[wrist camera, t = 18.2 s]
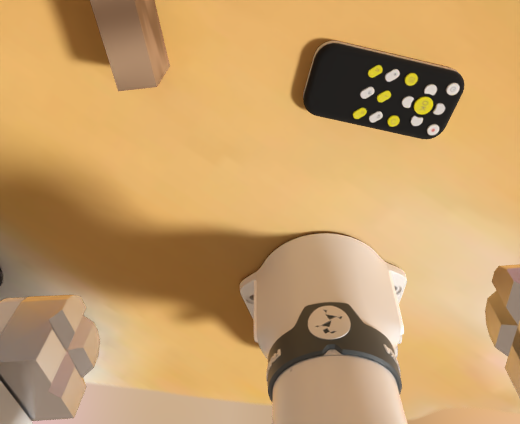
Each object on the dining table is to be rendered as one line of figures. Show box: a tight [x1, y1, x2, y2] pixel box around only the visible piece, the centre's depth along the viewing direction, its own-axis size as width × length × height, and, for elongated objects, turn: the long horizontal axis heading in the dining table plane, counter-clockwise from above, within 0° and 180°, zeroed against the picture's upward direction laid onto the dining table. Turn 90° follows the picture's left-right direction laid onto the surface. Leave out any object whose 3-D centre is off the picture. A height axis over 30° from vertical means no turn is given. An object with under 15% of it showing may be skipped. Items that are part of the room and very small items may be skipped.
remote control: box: [303, 41, 464, 139], centre depth 38 cm, size 6×13×2 cm, turn 78°
